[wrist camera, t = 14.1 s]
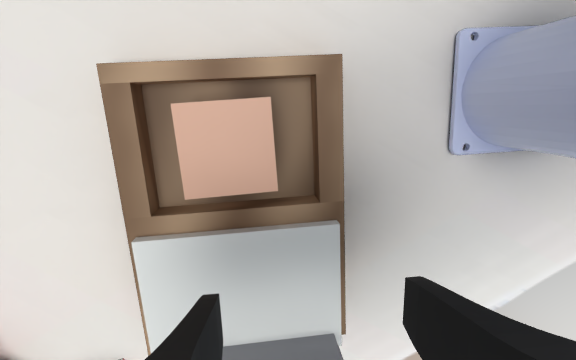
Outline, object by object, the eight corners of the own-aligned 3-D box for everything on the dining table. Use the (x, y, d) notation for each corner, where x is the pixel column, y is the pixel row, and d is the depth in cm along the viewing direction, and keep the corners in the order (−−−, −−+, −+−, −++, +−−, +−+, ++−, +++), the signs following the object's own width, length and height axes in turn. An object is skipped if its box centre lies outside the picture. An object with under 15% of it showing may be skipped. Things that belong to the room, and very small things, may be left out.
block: (266, 99, 20) (270, 96, 15) (272, 171, 21) (278, 190, 16) (191, 104, 19) (170, 103, 14) (201, 177, 20) (184, 199, 15)
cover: (336, 219, 20) (354, 243, 16) (338, 338, 22) (354, 380, 18) (135, 237, 19) (109, 266, 15) (156, 360, 21) (137, 410, 17)
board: (332, 60, 20) (342, 53, 18) (336, 312, 24) (345, 334, 22) (115, 69, 19) (96, 63, 16) (159, 332, 23) (148, 357, 21)
